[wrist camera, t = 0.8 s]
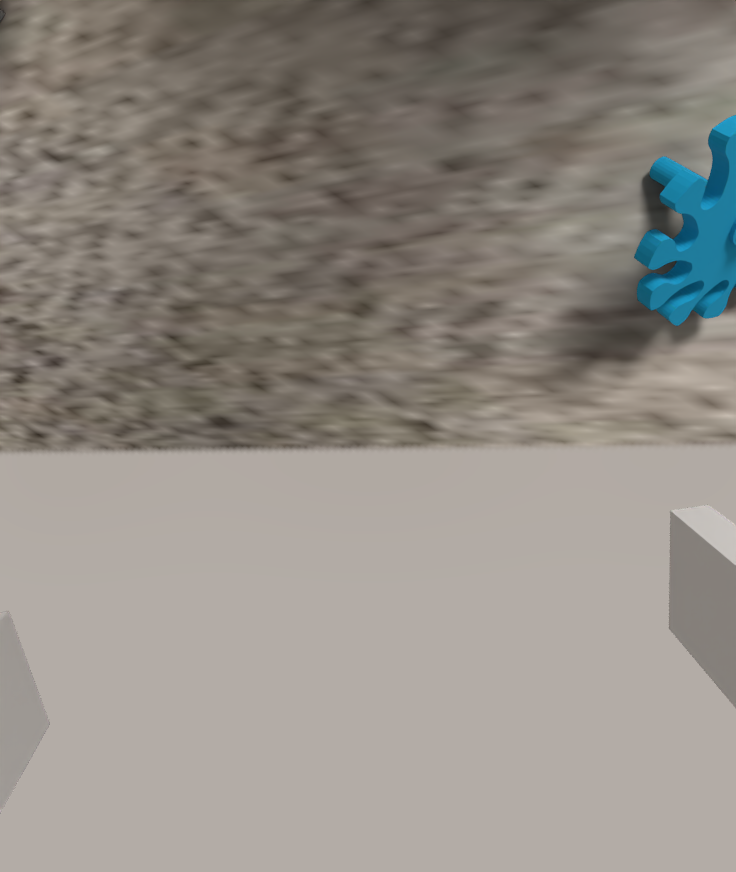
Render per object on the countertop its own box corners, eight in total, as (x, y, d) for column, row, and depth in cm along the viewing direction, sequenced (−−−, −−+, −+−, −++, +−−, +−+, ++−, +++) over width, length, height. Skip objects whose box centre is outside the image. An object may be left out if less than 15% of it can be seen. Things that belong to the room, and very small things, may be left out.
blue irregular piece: (677, 368, 31) (634, 238, 23) (597, 301, 34) (536, 169, 27) (886, 202, 29) (915, -2, 21) (777, 150, 32) (768, -40, 25)
